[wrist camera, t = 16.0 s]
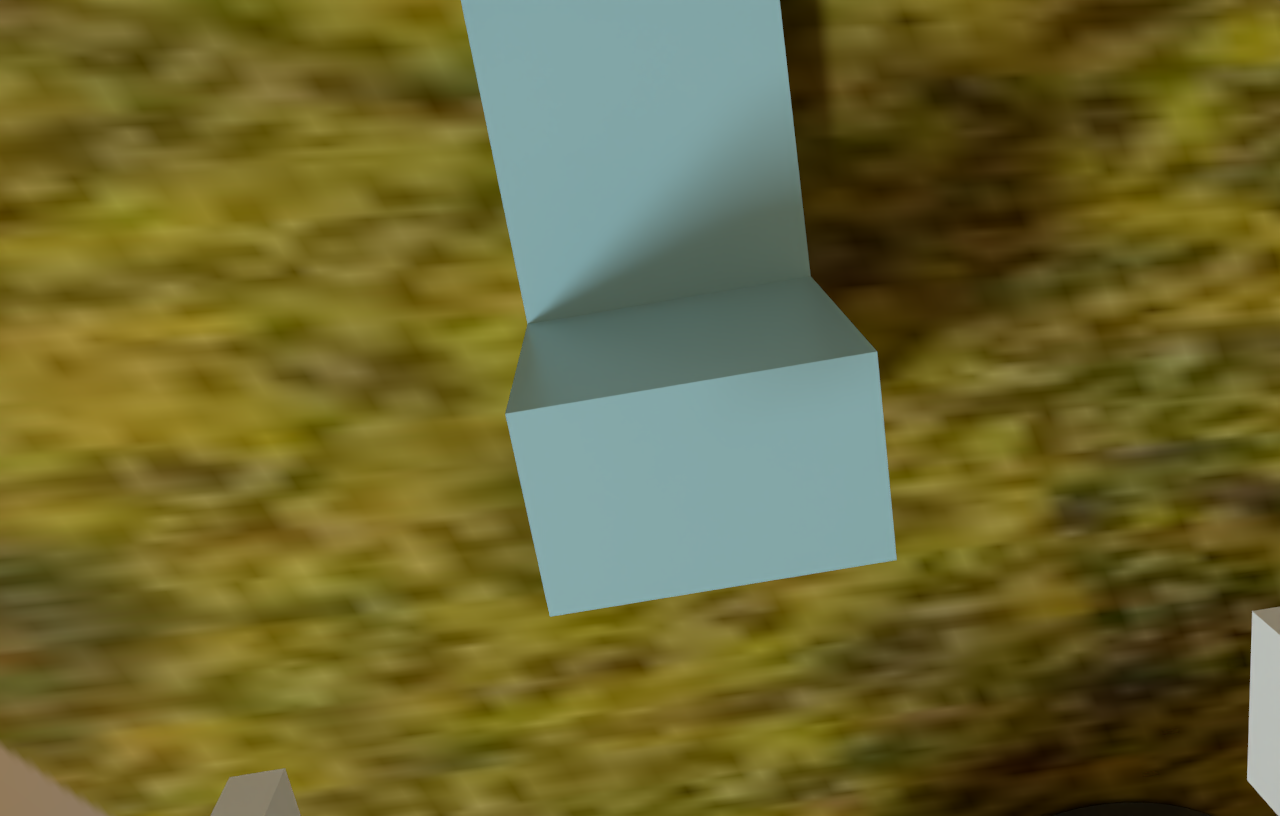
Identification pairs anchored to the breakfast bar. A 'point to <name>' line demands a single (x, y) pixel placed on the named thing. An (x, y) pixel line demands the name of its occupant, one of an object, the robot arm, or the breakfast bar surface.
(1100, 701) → the breakfast bar surface
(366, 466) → the breakfast bar surface
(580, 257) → the light blue l-bracket
